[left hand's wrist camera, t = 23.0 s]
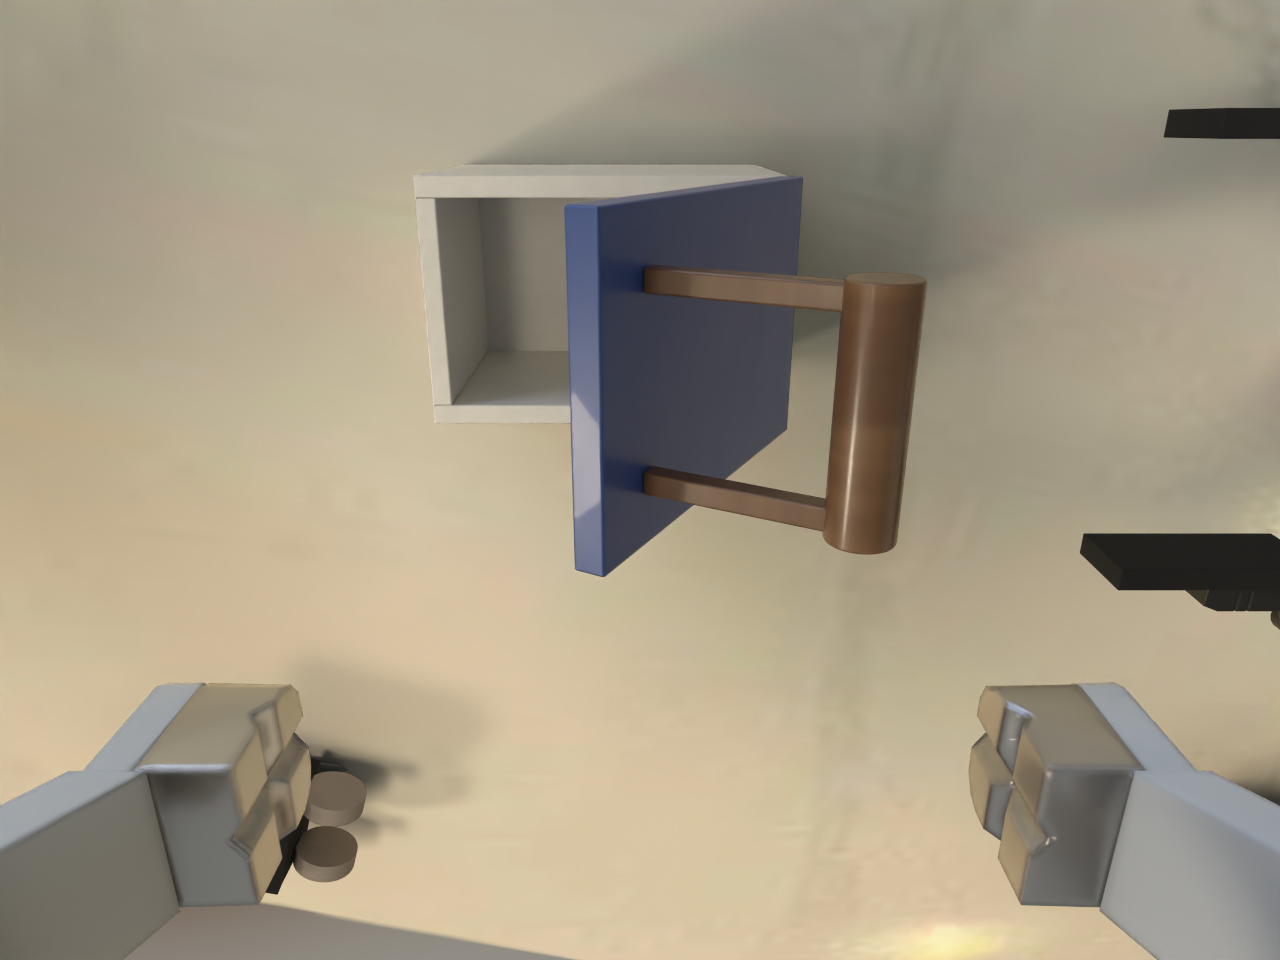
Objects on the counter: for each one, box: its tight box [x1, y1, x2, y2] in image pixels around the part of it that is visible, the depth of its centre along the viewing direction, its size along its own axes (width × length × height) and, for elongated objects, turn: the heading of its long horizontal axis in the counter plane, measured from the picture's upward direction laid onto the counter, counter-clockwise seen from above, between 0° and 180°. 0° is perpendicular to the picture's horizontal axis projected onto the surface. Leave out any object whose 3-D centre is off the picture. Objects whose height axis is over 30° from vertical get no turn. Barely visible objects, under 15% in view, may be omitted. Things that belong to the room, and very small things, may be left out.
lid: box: [564, 176, 927, 577], centre depth 28 cm, size 15×10×8 cm
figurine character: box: [265, 759, 366, 895], centre depth 54 cm, size 7×8×15 cm
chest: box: [413, 164, 787, 423], centre depth 41 cm, size 14×10×11 cm
